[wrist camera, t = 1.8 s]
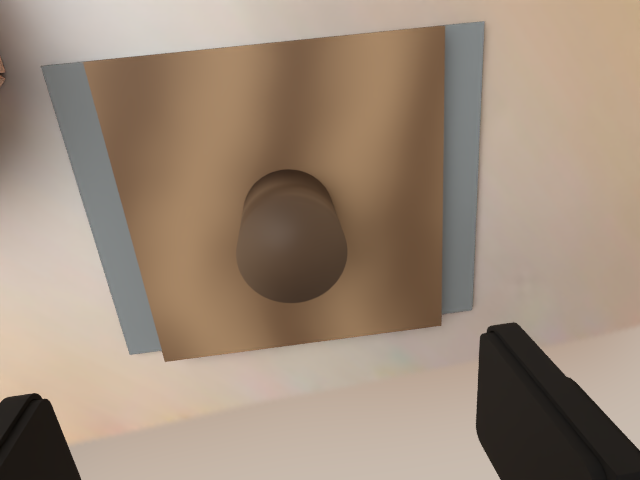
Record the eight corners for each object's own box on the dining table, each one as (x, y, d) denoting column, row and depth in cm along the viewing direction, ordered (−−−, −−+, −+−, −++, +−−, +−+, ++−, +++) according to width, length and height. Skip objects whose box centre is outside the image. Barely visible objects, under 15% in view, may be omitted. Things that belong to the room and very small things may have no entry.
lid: (436, 26, 20) (492, 22, 15) (435, 314, 25) (475, 383, 20) (92, 61, 19) (27, 69, 14) (169, 349, 24) (142, 428, 20)
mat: (480, 21, 20) (484, 21, 20) (469, 306, 26) (472, 310, 25) (45, 65, 19) (40, 65, 19) (131, 350, 25) (129, 354, 24)
